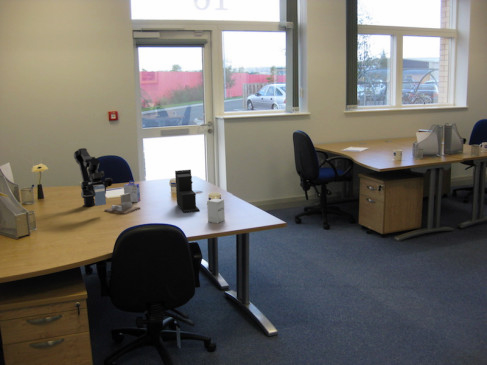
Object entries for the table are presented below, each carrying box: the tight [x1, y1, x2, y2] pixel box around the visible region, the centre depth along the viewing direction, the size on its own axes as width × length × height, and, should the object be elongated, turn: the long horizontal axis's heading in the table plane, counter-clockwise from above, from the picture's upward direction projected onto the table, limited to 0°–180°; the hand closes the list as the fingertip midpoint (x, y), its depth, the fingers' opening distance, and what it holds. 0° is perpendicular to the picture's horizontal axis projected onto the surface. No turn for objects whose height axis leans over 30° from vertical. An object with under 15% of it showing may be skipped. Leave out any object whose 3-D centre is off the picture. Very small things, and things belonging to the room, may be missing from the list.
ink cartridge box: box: [123, 180, 141, 203], centre depth 325 cm, size 10×6×14 cm, turn 83°
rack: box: [104, 193, 141, 215], centre depth 303 cm, size 18×14×11 cm
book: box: [93, 185, 107, 206], centre depth 291 cm, size 3×6×12 cm, turn 122°
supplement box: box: [206, 198, 226, 224], centre depth 271 cm, size 7×7×13 cm
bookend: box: [174, 169, 201, 214], centre depth 302 cm, size 23×11×24 cm, turn 18°
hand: (100, 194), depth 289 cm, fingers closed on book, 6 cm apart
